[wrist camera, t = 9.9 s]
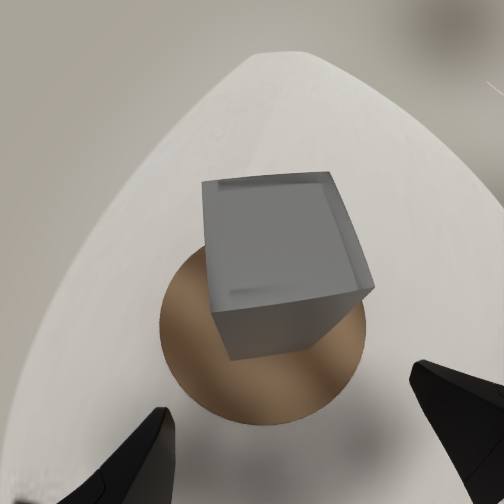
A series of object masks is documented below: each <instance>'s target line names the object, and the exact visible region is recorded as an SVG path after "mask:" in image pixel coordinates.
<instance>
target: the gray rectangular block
mask: <svg viewBox="0 0 504 504" xmlns="http://www.w3.org/2000/svg"><path fill="white" fill-rule="evenodd" d="M202 200H203V220H204V237H205V253H206V266H207V279H208V291H209V302H210V313H211V315H212V317H213V320H214V322H215V325H216V327H217V329H218V332H219V334H220V336H221V339H222V341H223V343H224V345H225V348H226V350H227V352H228V355H229V357H230V359H231V361H234V360H242V359H250V358H257V357H264V356H270V355H277V354H283V353H289V352H294V351H300V350H305V349H310V348H311V347H312V346H313V345H315V344H316V343H317V342H318V341H319V340H320V339H321V338H322V337H324V336H325V335H326V334H327V333H328V332H329V331H330V330H331V329H332V328H334V327H335V326H336V325H337V324H338V323H339V322H340V321H341V320H342V319H343V318H344V317H345V316H346V315H347V314H349V313H350V312H351V311H352V310H353V309H354V308H355V307H356V306H357V305H358V304H359V303H360V302H361V301H362V300H363V299H364V298H365V297H366V296H367V295H368V294H369V293H370V292H371V291H372V290H373V289H374V288H375V285H374V282H373V279H372V276H371V273H370V270H369V267H368V264H367V261H366V259H365V256H364V253H363V250H362V248H361V245H360V242H359V240H358V237H357V235H356V232H355V230H354V227H353V225H352V222H351V220H350V217H349V215H348V212H347V210H346V208H345V205H344V203H343V201H342V198H341V196H340V194H339V191H338V189H337V187H336V185H335V183H334V180H333V178H332V176H331V174H330V172H307V173H290V174H275V175H262V176H251V177H240V178H231V179H221V180H213V181H205V182H202Z"/></svg>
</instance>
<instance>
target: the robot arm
mask: <svg viewBox="0 0 504 504" xmlns="http://www.w3.org/2000/svg"><path fill="white" fill-rule="evenodd" d="M409 382H410V385H411V387H412V389H413V391H414V393H415V395H416V398H417V400H418V402H419V404H420V406H421V408H422V410H423V412H424V414H425V416H426V417H427V419H428V421H429V422H430V424H431V426H432V428H433V429H434V431H435V433H436V434H437V436H438V438H439V440H440V441H441V443H442V445H443V447H444V448H445V450H446V452H447V454H448V456H449V457H450V459H451V461H452V463H453V465H454V467H455V468H456V470H457V472H458V474H459V476H460V478H461V480H462V482H463V484H464V486H465V488H466V490H467V492H468V494H469V496H470V498H471V500H472V502H473V504H498V503H499V502H500V501H501V500H502V499H504V386H503V385H499V384H496V383H493V382H490V381H486V380H483V379H480V378H477V377H474V376H471V375H468V374H465V373H462V372H459V371H456V370H453V369H450V368H447V367H444V366H441V365H438V364H435V363H432V362H429V361H427V360H420V361H417V362H415V363H414V364H413V367H412V371H411V374H410V378H409ZM174 473H175V423H174V420H173V418H172V415H171V413H170V410H169V409H168V408H167V407H156V408H155V409H154V410H153V411H152V412H151V413H150V414H149V415H148V417H147V418H146V419H145V420H144V421H143V422H142V423H141V424H140V425H139V426H138V427H137V428H136V430H135V431H134V432H133V433H132V434H131V435H130V436H129V437H128V438H127V439H126V440H125V441H124V442H123V443H122V445H121V446H120V447H119V448H118V449H117V450H116V451H115V452H114V453H113V454H112V455H111V456H110V457H109V458H108V459H107V460H106V461H105V462H104V463H103V464H102V465H101V466H100V469H97V470H96V471H95V472H94V473H93V475H91V476H90V477H89V478H88V479H87V480H86V481H85V482H84V483H83V484H82V485H81V486H79V487H78V488H77V489H76V490H74V491H73V492H72V493H70V494H69V495H68V496H66V497H65V498H64V499H62V500H61V501H60V502H58V503H57V504H171V501H172V491H173V481H174Z"/></svg>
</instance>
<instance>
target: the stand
mask: <svg viewBox="0 0 504 504" xmlns="http://www.w3.org/2000/svg"><path fill="white" fill-rule="evenodd" d="M159 323H160V340H161V346H162V350H163V353H164V356H165V360H166V362H167V364H168V366H169V368H170V370H171V373H172V374H173V376H174V377H175V379H176V380H177V382H178V383H179V385H180V386H181V387H182V388H183V389H184V390H185V392H186V393H187V394H188V395H189V396H190V397H191V398H192V399H194V400H195V401H196V402H197V403H198V404H200V405H201V406H202V407H204V408H206V409H207V410H209V411H211V412H212V413H214V414H216V415H218V416H221V417H223V418H225V419H228V420H231V421H235V422H239V423H243V424H250V425H277V424H283V423H289V422H292V421H295V420H298V419H302V418H304V417H306V416H308V415H310V414H312V413H315V412H316V411H318V410H319V409H321V408H322V407H324V406H325V405H327V404H328V403H329V402H331V401H332V400H333V399H334V398H335V397H336V396H337V395H338V394H339V393H340V392H341V391H342V390H343V389H344V387H345V386H346V385H347V384H348V382H349V381H350V379H351V378H352V376H353V374H354V373H355V371H356V369H357V366H358V364H359V362H360V359H361V356H362V353H363V349H364V344H365V337H366V319H365V312H364V307H363V303H362V301H361V302H360V303H359V304H358V305H357V306H356V307H355V308H354V309H353V310H352V311H351V312H350V313H349V314H347V315H346V316H345V317H344V318H343V319H342V320H341V321H340V322H339V323H338V324H337V325H336V326H335V327H334V328H332V329H331V330H330V331H329V332H328V333H327V334H326V335H325V336H324V337H322V338H321V339H320V340H319V341H318V342H317V343H316V344H315V345H313V346H312V347H311V348H310V349H305V350H300V351H294V352H289V353H283V354H277V355H270V356H264V357H257V358H250V359H242V360H234V361H231V359H230V357H229V355H228V352H227V350H226V348H225V345H224V343H223V341H222V339H221V336H220V334H219V332H218V329H217V327H216V325H215V322H214V320H213V317H212V315H211V313H210V302H209V291H208V279H207V266H206V253H205V246H203V247H202V248H200V249H199V250H198V251H196V252H195V253H194V254H193V255H191V256H190V257H189V258H188V259H187V260H186V262H185V263H184V264H183V265H182V266H181V267H180V269H179V270H178V271H177V272H176V274H175V275H174V277H173V279H172V281H171V282H170V284H169V286H168V289H167V291H166V293H165V296H164V299H163V303H162V307H161V313H160V321H159Z"/></svg>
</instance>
